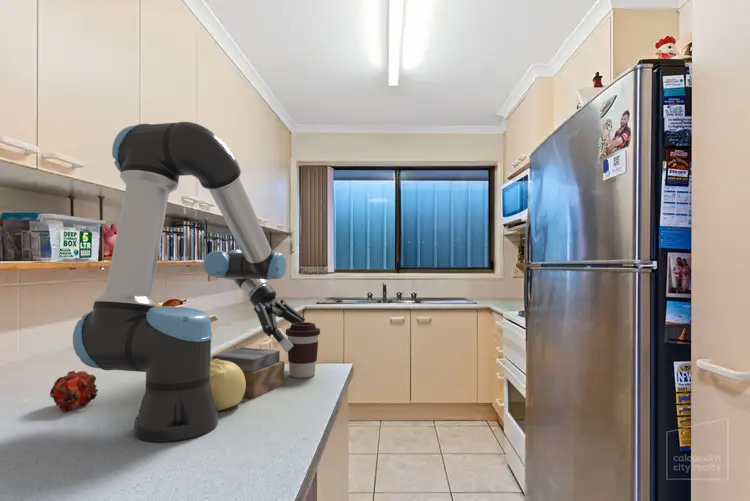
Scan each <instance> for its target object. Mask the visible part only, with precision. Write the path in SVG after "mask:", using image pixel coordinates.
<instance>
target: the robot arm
mask: <svg viewBox="0 0 750 501" xmlns="http://www.w3.org/2000/svg"><path fill="white" fill-rule="evenodd" d="M111 149H112V150H111V154H112V158H113V159H114V162H113V163H114V166H115V167H116V170H118V171H119V172H120V174H119V178H120V179H121V180H122V181H123V183H124V184H125V190H124V194H123V200H122V206H121V210H120V215H119V220H118V225H117V230H116V235H115V240H114V241H115V242H114V244H113V249H112V255H111V260H110V266H109V271H108V276H107V280H106V286H105V291H104V293H103V294H102V295H100V296H99V297H97V298H95V300H94V301H93V306H92V307H93V308H92V310H91V311H89V312H87V313H85V314H83V315H82V316H81V319H78V321H77V322H76V324H75V327H74V329H73V334H72V346H73V350H74V353H75V354H76V356H77V357H78V358H79V359H80V361H81V363H83V364H84V365H85V366H87V367H90V368H93V369H101V370H104V371H124V372H139V373H141V372H142V373H145V391H144V395H143V398H142V400H141V403H140V406H139V409H138V410H139V411H138V414H137V415H136V417H135V419H134V423H133V435H134V436H135V437H136V438H138V439H139V440H142V441H145V442H154V443H155V442H156V443H158V442H159V443H161V442H162V443H166V442H176V441H183V440H187V439H191V438H192V439H193V438H196V437H199V436H202V435H204V434H206V433H209V432H210V431H212V430H214V429H215V428H216V427H217V426H218V423H219V411H218V410H217V407H216V406H215V403H214V398H213V395H212V391H211V388H210V360H211V355H212V354H211V351H212V349H211V348H212V345H211V344H212V337H213V332H212V322H211V317H210V316H209V314H208V313H207V312H205V311H203V310H201V309H200V310H199V309H197V308H193V307H186V306H173V305H171V306H170V305H167V306H166V305H165V306H164V305H163V306H162V305H160V306H158V305H157V304H156V303H155V301H154V300H153V299H152V293H153V287H154V282H155V276H156V271H157V265H158V259H159V254H160V249H161V247H160V246H161V241H162V236H163V230H164V224H165V218H166V212H167V207H168V202H169V196H170V194H172V192H174V191H176V190H178V186H179V182H180V181H179V180H180V177H181V176H191V177H192V176H193V177H195V178H196V179H197V180H198V181H199V183H200V185H201V186H202V188H204V189H206V190H209V192H210V194H211V196H212V198H213V200H214V202H215V204H216V206H217V208H218V209H219V211H220V213H221V215H222V217H223V219H224V221H225V222H226V223H225V224H226V225H227V227H228V229H229V230H230V233H231V234H232V236H233V238H234V240H235V242H236V245H238V247H239V249H232V250H229V251H228V252H226V251H223V250H212V251H211V252H209V253H208V254H207V255H206V256H205V257H204V260H203V269H204V271H205V273H206V274H207V275H209V276H210V277H213V278H215V279H218V278H219V279H225V280H230V281H234V283H235V284H236V285H237V287H239V289H240V290H241V291H242V292H243V294H244V295H245V296H246V297H247V298H248V299H249V301H250V302H251V304H252V305H253V307H254V308H253V311H254V312H255V313H256V315H257V317H258V320H259V323H260V325H261V328H262V331H263V332H264V334H266V335H267V337H271V336H273V337H274V339H275V340H276V342H277V343H278V344H279V345H280V347H282V349H283V350H284V351H285V353H288V351H289V350H290V349H291V348H292V347H293V346H294V345H293V344H292V343H291V342H290V340H289V339H288V336H287V335H286V333H284V332H283V331H282V329H281V327H280V328H279V327H278V325H277V319H276V317H277V318H283V319H284V320H285V321H287V322H289V323H290V324H293V323H299V322H306V319H305V317H304V316H302V314H300V313H299V312H298V311H296V310H295V309H294V308H293V307H292V306H290V305H289V304H288V303H287V302H286V301H285V300H284V299H280V300H279V301H278V300H277V299H276V296H277V291H275V289H274V288H273V287H272V286H271V285H270V284H269V280H280V279H282V278H283V277H284V276H285V273H286V271H287V261H286V260H287V259H286V257H285V255H284V254H282V252H276V251H275V252H273V249H272V247H271V246H270V244H269V241H268V239H267V237H266V235H265V231H264V230H263V227H262V225H261V224H260V223H261V222H260V221H259V219H258V217H257V214H256V212H255V209H254V207H253V205H252V203H251V201H250V198H249V196H248V194H247V191H246V189H245V187H244V185H243V182H242V180H241V174H242V170H241V167H240V165H239V163H238V161H237V159H236V156H235V155H234V153H233V152H232V151H231V150H230V148H229V147H228V146H227V145H226V143H224V141H223V140H222V139H221V138H220V137H219V136H218V135H216V134H215V133H214V132H212V131H211V130H209V129H208V128H207V127H206V126H205V127H204V126H203V125H202V124H198V123H195V122H193V121H178V122H168V123H167V122H165V123H152V124H151V123H138V124H136V125H130V126H129V125H128V126H126V127H124V128H123V129H121V130H120V131H119V132H118V133H117V135H116V136H115V138H114V140H113V142H112V148H111Z"/></svg>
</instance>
